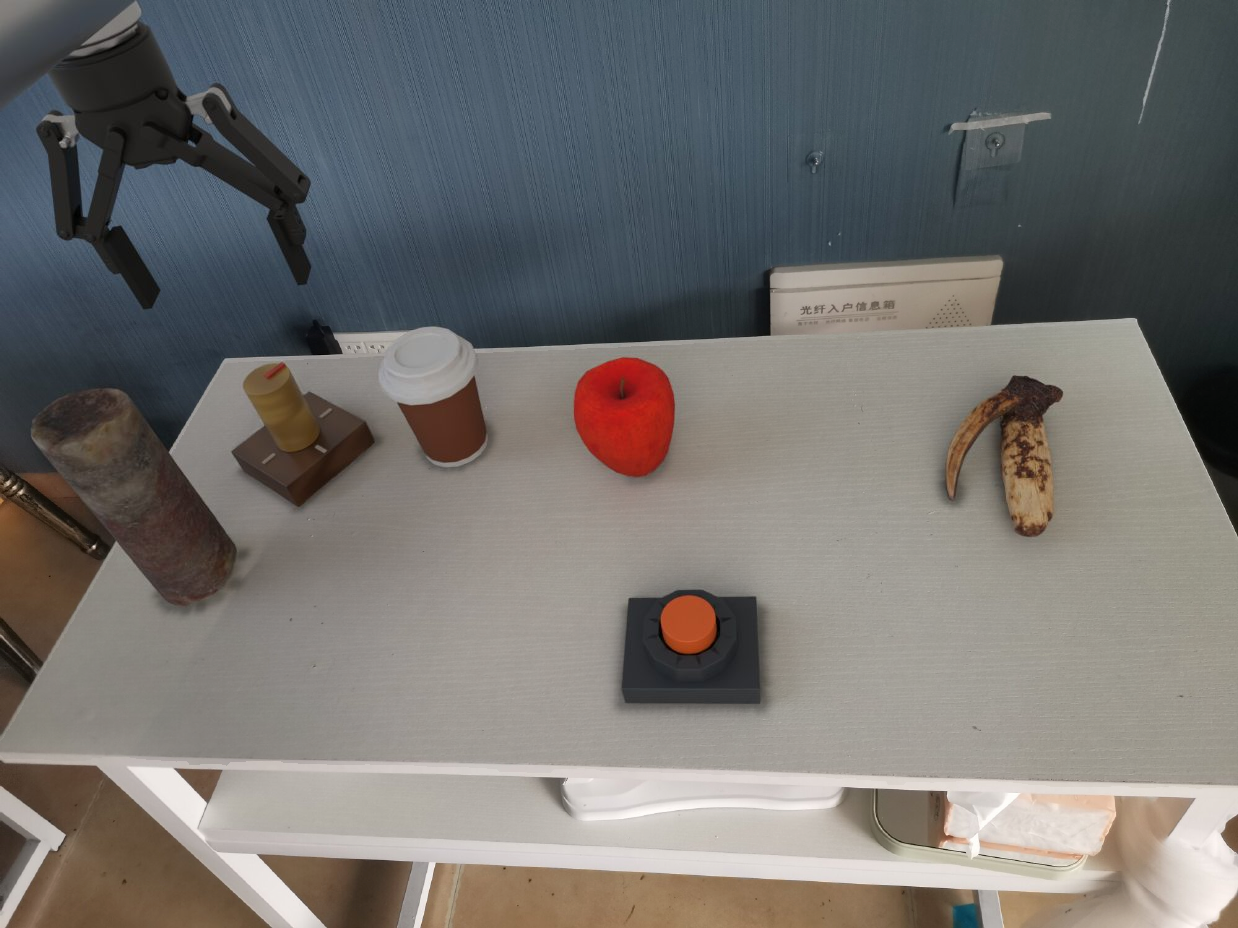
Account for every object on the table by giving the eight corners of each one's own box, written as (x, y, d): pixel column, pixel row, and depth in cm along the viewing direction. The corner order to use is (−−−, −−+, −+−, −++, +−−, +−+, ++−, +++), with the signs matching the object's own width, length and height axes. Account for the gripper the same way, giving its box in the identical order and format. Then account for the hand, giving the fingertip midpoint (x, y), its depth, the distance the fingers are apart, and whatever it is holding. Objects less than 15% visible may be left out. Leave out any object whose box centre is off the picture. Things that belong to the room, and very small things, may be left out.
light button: (661, 654, 64) (659, 641, 63) (663, 608, 67) (661, 595, 66) (716, 654, 64) (715, 641, 63) (716, 607, 67) (715, 594, 65)
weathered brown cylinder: (179, 543, 83) (54, 384, 69) (253, 537, 82) (143, 376, 68) (149, 611, 78) (7, 456, 64) (228, 606, 77) (102, 447, 63)
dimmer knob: (294, 458, 85) (260, 398, 79) (266, 441, 87) (231, 382, 81) (329, 429, 87) (298, 370, 81) (301, 414, 89) (269, 355, 83)
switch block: (625, 703, 66) (618, 676, 63) (631, 612, 72) (625, 584, 69) (760, 704, 65) (759, 676, 62) (756, 611, 70) (756, 582, 67)
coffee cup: (392, 457, 87) (350, 365, 79) (453, 400, 92) (419, 308, 83) (459, 490, 83) (423, 397, 75) (520, 429, 88) (492, 334, 79)
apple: (580, 498, 81) (559, 412, 73) (594, 430, 86) (577, 344, 79) (677, 500, 79) (666, 413, 71) (685, 430, 85) (676, 343, 77)
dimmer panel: (298, 507, 84) (285, 485, 82) (243, 471, 89) (229, 450, 86) (375, 442, 89) (365, 419, 87) (319, 411, 94) (308, 389, 91)
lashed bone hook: (945, 396, 84) (942, 541, 72) (950, 357, 81) (948, 503, 69) (1052, 401, 82) (1068, 553, 70) (1062, 362, 78) (1080, 514, 66)
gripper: (277, -13, 63) (373, 242, 79) (-58, 44, 64) (102, 284, 80) (256, 27, 58) (363, 291, 74) (-108, 88, 59) (74, 336, 75)
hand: (228, 288), depth 77 cm, fingers open, 13 cm apart
